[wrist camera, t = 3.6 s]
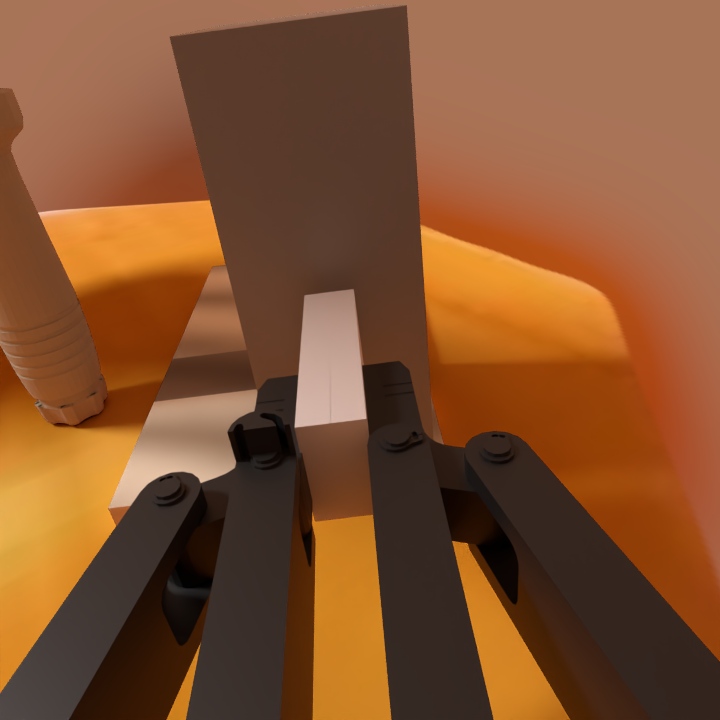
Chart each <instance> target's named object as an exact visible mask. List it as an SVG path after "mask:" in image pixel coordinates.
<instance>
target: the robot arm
mask: <svg viewBox="0 0 720 720" xmlns="http://www.w3.org/2000/svg"><path fill="white" fill-rule="evenodd" d="M227 433H228V436H229V440H230V443H231V447H232V450H233V454H234V457H235V460H236V465H235V468H234V469H232V470H231V471H229V472H228V473H226V474H224V475H221V476H219V477H216V478H214V479H211V480H208V481H205V482H202V483H200V480H199V478H198V477H196V476H195V475H194V474H192V473H188V472H172V473H169V474H166V475H163V476H160V477H158V478H156V479H155V480H153V481H151V482H150V483H148V484H147V485H146V486H145V487H144V488H143V490H142V491H141V492H140V493H139V494H138V496H137V497H136V499H135V500H134V502H133V503H132V505H131V506H130V507H129V509H128V510H127V512H126V513H125V515H124V516H123V517H122V519H121V520H120V522H119V523H118V525H117V526H116V528H115V529H114V530H113V532H112V533H111V535H110V536H109V538H108V539H107V541H106V542H105V543H104V545H103V546H102V548H101V549H100V551H99V552H98V553H97V555H96V556H95V558H94V559H93V561H92V562H91V564H90V565H89V566H88V568H87V569H86V571H85V572H84V574H83V575H82V577H81V578H80V579H79V581H78V582H77V584H76V585H75V587H74V588H73V589H72V591H71V592H70V594H69V595H68V597H67V598H66V600H65V601H64V602H63V604H62V605H61V607H60V608H59V610H58V611H57V613H56V614H55V615H54V617H53V618H52V620H51V621H50V623H49V624H48V625H47V627H46V628H45V630H44V631H43V633H42V634H41V636H40V637H39V638H38V640H37V641H36V643H35V644H34V646H33V647H32V649H31V650H30V651H29V653H28V654H27V656H26V657H25V659H24V660H23V661H22V663H21V664H20V666H19V667H18V669H17V670H16V672H15V673H14V674H13V676H12V677H11V679H10V680H9V682H8V683H7V685H6V686H5V687H4V689H3V690H2V692H1V693H0V720H166V719H167V717H168V715H169V712H170V710H171V708H172V706H173V703H174V701H175V699H176V697H177V694H178V692H179V690H180V688H181V685H182V683H183V681H184V679H185V676H186V674H187V672H188V670H189V667H190V665H191V663H192V661H193V658H194V656H195V654H196V652H197V649H198V647H199V645H200V642H201V645H200V650H199V655H198V661H197V666H196V671H195V676H194V681H193V686H192V692H191V697H190V702H189V707H188V712H187V717H186V720H312V717H313V657H314V596H315V535H314V531H313V526H312V510H313V515H314V519H315V521H323V520H331V519H340V518H348V517H356V516H364V515H373V517H374V529H375V540H376V551H377V562H378V573H379V585H380V596H381V607H382V618H383V629H384V641H385V652H386V663H387V674H388V685H389V697H390V708H391V719H392V720H493V715H492V711H491V707H490V702H489V698H488V694H487V689H486V685H485V681H484V677H483V672H482V668H481V664H480V659H479V655H478V651H477V646H476V642H475V638H474V633H473V629H472V625H471V621H470V616H469V612H468V608H467V603H466V599H465V595H464V590H463V586H462V582H461V578H460V573H459V569H458V565H457V560H456V556H455V552H454V547H453V543H452V541H456V542H463V543H468V545H469V549H470V551H471V553H472V554H473V556H474V558H475V559H476V561H477V563H478V564H479V566H480V568H481V569H482V571H483V573H484V575H485V576H486V578H487V580H488V581H489V583H490V585H491V586H492V588H493V590H494V591H495V593H496V595H497V596H498V598H499V600H500V601H501V603H502V605H503V607H504V608H505V610H506V612H507V613H508V615H509V617H510V618H511V620H512V622H513V623H514V625H515V627H516V628H517V630H518V632H519V634H520V635H521V637H522V639H523V640H524V642H525V644H526V645H527V647H528V649H529V650H530V652H531V654H532V655H533V657H534V659H535V661H536V662H537V664H538V666H539V667H540V669H541V671H542V672H543V674H544V676H545V677H546V679H547V681H548V682H549V684H550V686H551V687H552V689H553V691H554V693H555V694H556V696H557V698H558V699H559V701H560V703H561V704H562V706H563V708H564V709H565V711H566V713H567V714H568V716H569V718H570V720H720V662H719V661H718V659H717V658H716V657H715V656H714V655H713V654H712V653H711V651H710V650H709V649H708V648H707V647H706V646H705V645H704V644H703V642H702V641H701V640H700V639H699V638H698V637H697V636H696V634H695V633H694V632H693V631H692V630H691V629H690V628H689V627H688V625H687V624H686V623H685V622H684V621H683V620H682V619H681V617H680V616H679V615H678V614H677V613H676V612H675V611H674V610H673V608H672V607H671V606H670V605H669V604H668V603H667V602H666V601H665V599H664V598H663V597H662V596H661V595H660V594H659V593H658V591H657V590H656V589H655V588H654V587H653V586H652V585H651V584H650V582H649V581H648V580H647V579H646V578H645V577H644V576H643V574H642V573H641V572H640V571H639V570H638V569H637V568H636V567H635V565H634V564H633V563H632V562H631V561H630V560H629V559H628V558H627V556H626V555H625V554H624V553H623V552H622V551H621V550H620V548H619V547H618V546H617V545H616V544H615V543H614V542H613V541H612V539H611V538H610V537H609V536H608V535H607V534H606V533H605V531H604V530H603V529H602V528H601V527H600V526H599V525H598V524H597V522H596V521H595V520H594V519H593V518H592V517H591V516H590V514H589V513H588V512H587V511H586V510H585V509H584V508H583V507H582V505H581V504H580V503H579V502H578V501H577V500H576V499H575V498H574V496H573V495H572V494H571V493H570V492H569V491H568V490H567V488H566V487H565V486H564V485H563V484H562V483H561V482H560V481H559V479H558V478H557V477H556V476H555V475H554V474H553V473H552V471H551V470H550V469H549V468H548V467H547V466H546V465H545V464H544V462H543V461H542V460H541V459H540V458H539V457H538V456H537V455H536V453H535V452H534V451H533V450H532V449H531V448H530V447H529V445H528V444H527V443H526V442H524V441H523V440H522V439H521V438H519V437H518V436H515V435H512V434H510V433H507V432H497V431H492V432H486V433H481V434H479V435H477V436H475V437H472V439H471V440H470V441H469V442H468V443H467V444H466V447H465V448H463V447H453V446H448V445H443V444H441V443H438V442H436V441H434V440H433V439H431V438H429V436H428V435H427V434H426V433H425V432H424V429H423V427H422V423H421V418H420V414H419V410H418V405H417V401H416V397H415V393H414V388H413V384H412V379H411V375H410V370H409V369H408V368H407V367H405V366H404V365H403V364H402V363H401V362H400V361H394V362H386V363H378V364H370V365H364V363H363V355H362V348H361V340H360V333H359V325H358V318H357V310H356V303H355V295H354V289H350V290H342V291H334V292H326V293H318V294H311V295H304V309H303V322H302V335H301V348H300V362H299V375H293V376H285V377H277V378H269V379H267V380H266V381H265V383H264V384H263V385H262V386H261V387H260V389H259V390H258V393H257V399H256V405H255V410H254V412H250V413H248V414H246V415H244V416H241V417H239V418H238V419H237V420H236V421H235V422H233V423H232V424H231V426H230V428H229V430H228V432H227Z"/></svg>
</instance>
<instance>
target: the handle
mask: <svg viewBox="0 0 720 720" xmlns="http://www.w3.org/2000/svg"><path fill="white" fill-rule="evenodd" d="M22 129H23V116H22V113H21V110H20V108H19V105H18V102H17V100H16V98H15V95H14V93H13V90H12V89H7V88H6V89H5V88H0V346H1V348H2V349H3V352H4V353H5V355H6V357H7V358H8V360H9V361H10V364H11V365H12V367H13V369H14V371H15V372H16V374H17V376H18V377H19V379H20V380H21V382H22V383H23V385H24V387H25V388H26V389H27V390H28V392H29V393H30V394H31V396H32V397H33V398H35V399H38V401H37V402H35V406H36V407H37V409H38V410H39V412H40V414H41V415H42V416H43V417H44V419H45V420H46V421H47V422H49V423H52V424H55V423H66V424H69V425H71V426H72V425H76V424H79V423H80V422H81V421H83V420H84V419H86V418H88V417H90V416H93V415H97V414H99V413H100V412H101V411H102V410H103V409H104V405H103V401H104V400H105V399H106V398H107V395H108V393H107V387H106V383H105V380H104V376H103V375H102V374H101V369H100V364H99V359H98V355H97V352H96V348H95V345H94V342H93V339H92V336H91V334H90V329H89V326H88V324H87V321H86V318H85V316H84V313H83V311H82V308H81V305H80V303H79V300H78V299H77V295H76V293H75V291H74V288H73V286H72V284H71V282H70V280H69V278H68V276H67V274H66V272H65V269H64V267H63V265H62V263H61V261H60V259H59V257H58V255H57V253H56V250H55V248H54V246H53V244H52V242H51V240H50V238H49V236H48V234H47V232H46V229H45V227H44V225H43V223H42V221H41V219H40V216H39V214H38V212H37V210H36V208H35V206H34V204H33V201H32V200H31V197H30V195H29V193H28V190H27V188H26V186H25V184H24V182H23V180H22V178H21V175H20V173H19V171H18V168H17V165H16V163H15V160H14V158H13V155H12V153H11V144H12V142H13V140H14V138H15V137H16V136H17V135H18V134H19V133H20V131H21V130H22Z"/></svg>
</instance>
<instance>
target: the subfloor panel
mask: <svg viewBox="0 0 720 720" xmlns="http://www.w3.org/2000/svg"><path fill="white" fill-rule="evenodd" d="M256 399H257V389H256V385H255V381H254V377H253V373H252V369H251V365H250V360H249V356H248V352H247V348H246V344H245V340H244V336H243V332H242V328H241V324H240V320H239V316H238V312H237V308H236V304H235V300H234V296H233V292H232V287H231V283H230V279H229V275H228V271H227V267H226V265H223V266H215V267H212V268H211V271H210V273H209V275H208V278H207V280H206V282H205V285H204V287H203V289H202V292H201V294H200V296H199V299H198V301H197V303H196V306H195V308H194V310H193V313H192V315H191V317H190V320H189V322H188V324H187V327H186V329H185V331H184V334H183V336H182V338H181V340H180V343H179V345H178V347H177V350H176V352H175V354H174V357H173V359H172V361H171V364H170V366H169V368H168V371H167V373H166V375H165V378H164V380H163V382H162V385H161V387H160V389H159V392H158V394H157V396H156V399H155V401H154V403H153V406H152V408H151V410H150V413H149V415H148V417H147V419H146V422H145V424H144V426H143V429H142V431H141V433H140V436H139V438H138V440H137V443H136V445H135V447H134V450H133V452H132V454H131V457H130V459H129V461H128V464H127V466H126V468H125V471H124V473H123V475H122V478H121V480H120V482H119V485H118V487H117V489H116V492H115V494H114V496H113V498H112V501H111V503H110V505H109V508H108V509H109V511H110V513H111V515H112V518H113V520H114V522H115V524H116V526H117V525H118V523H119V522H120V520H121V519H122V517H123V516H124V515H125V513H126V512H127V510H128V509H129V507H130V506H131V505H132V503H133V502H134V500H135V499H136V497H137V496H138V494H139V493H140V492H141V491H142V490H143V488H144V487H145V486H146V485H147V484H148V483H150V482H151V481H153V480H155V479H156V478H158V477H160V476H163V475H166V474H169V473H172V472H188V473H192V474H194V475H195V476H196V477H198V478H199V480H200V483H202V482H205V481H208V480H211V479H214V478H216V477H219V476H221V475H224V474H226V473H228V472H229V471H231V470H232V469H234V468H235V465H236V460H235V457H234V454H233V450H232V447H231V443H230V440H229V436H228V433H227V432H228V430H229V428H230V426H231V424H232V423H233V422H235V421H236V420H237V419H238V418H239V417H241V416H244V415H246V414H248V413H250V412H254V410H255V405H256ZM431 407H432V423H433V439H434V441H436V442H438V443H441V444H443V445H444V442H443V439H442V435H441V431H440V428H439V424H438V420H437V416H436V413H435V409H434V405H433V402H432V398H431Z"/></svg>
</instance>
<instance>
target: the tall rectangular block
mask: <svg viewBox="0 0 720 720" xmlns="http://www.w3.org/2000/svg"><path fill="white" fill-rule="evenodd" d="M170 40H171V44H172V48H173V52H174V56H175V60H176V65H177V69H178V73H179V77H180V81H181V85H182V89H183V93H184V97H185V101H186V105H187V109H188V113H189V117H190V121H191V125H192V129H193V133H194V137H195V142H196V146H197V150H198V153H199V158H200V162H201V166H202V170H203V174H204V178H205V182H206V186H207V190H208V194H209V198H210V202H211V206H212V210H213V215H214V219H215V223H216V227H217V231H218V235H219V239H220V243H221V247H222V251H223V255H224V259H225V263H226V267H227V271H228V275H229V279H230V283H231V287H232V292H233V296H234V300H235V304H236V308H237V312H238V316H239V320H240V324H241V328H242V332H243V336H244V340H245V344H246V348H247V352H248V356H249V360H250V365H251V369H252V373H253V377H254V381H255V385H256V389H257V393H258V390H259V389H260V387H261V386H262V385H263V384H264V383H265V381H266V380H267V379H269V378H277V377H285V376H293V375H299V362H300V348H301V335H302V322H303V309H304V295H311V294H318V293H326V292H334V291H342V290H350V289H354V295H355V303H356V310H357V318H358V325H359V333H360V340H361V348H362V355H363V363H364V365H370V364H378V363H386V362H394V361H400V362H401V363H402V364H403V365H404V366H405V367H407V368H408V369H409V370H410V375H411V379H412V384H413V388H414V393H415V397H416V401H417V405H418V410H419V414H420V418H421V423H422V427H423V429H424V432H425V433H426V434H427V435H428V436H429V438H431V439H433V423H432V407H431V391H430V374H429V358H428V342H427V326H426V310H425V293H424V277H423V261H422V245H421V229H420V213H419V197H418V181H417V164H416V149H415V132H414V116H413V99H412V83H411V67H410V51H409V34H408V19H407V6H406V5H374V6H366V7H359V8H351V9H344V10H336V11H329V12H321V13H313V14H306V15H298V16H291V17H283V18H276V19H268V20H260V21H253V22H245V23H239V24H230V25H223V26H219V27H213V28H209V29H204V30H199V31H195V32H190V33H185V34H180V35H176V36H171V37H170ZM433 440H434V439H433Z"/></svg>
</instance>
